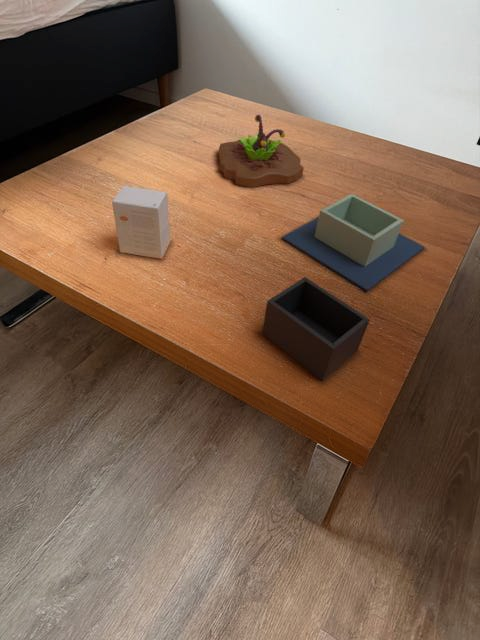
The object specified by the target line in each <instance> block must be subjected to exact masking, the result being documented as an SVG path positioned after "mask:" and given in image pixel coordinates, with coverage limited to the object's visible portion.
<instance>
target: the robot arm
mask: <svg viewBox="0 0 480 640" xmlns="http://www.w3.org/2000/svg"><path fill="white" fill-rule="evenodd" d="M476 146H480V136H479V137H478V139H477V141H476Z"/></svg>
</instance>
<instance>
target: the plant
mask: <svg viewBox="0 0 480 640" xmlns="http://www.w3.org/2000/svg"><path fill="white" fill-rule="evenodd" d="M254 121H255V122H256V123H258V133H256V135H255V137H254V136H253V135H251V134H248V136H247V137H248V138H245V137H240V136H239V137H238V140H235V141H227V142H221V143H220V144H219V147H218V157H219V172H220V173H222V174H223V177H224V178H225V179H226V180H227V179H228V180H231V181H234V183H235V185H239V186H241V187H244V188H245V187H246V188H255V187H260V186H265V185H277V184H278V185H279V184H282V185H283V184H286V185H288V184H290V183H292V182H295V181H297V180H298V179H299V178H301V177H303V174H304V168H305V167H304V166H302V165H301V161H302V159H301V157H300V156H298V154H296V153H295V152H294V151H293V150H292V149H291V148H290V147H289V146H288V145H287V144H285V143H283V142H282V140H281V139H283V138H285V136H286V132H285V131H284V130H283V129H279V128H277V129H273V130H271V131H270V132H269V133H268V134H266V133H264V125H263V120H262V115H261V114H256V115H255V117H254ZM275 133H278V136H279V137H280V138H281V139H278V140H272V139H270V137H271V136H272V135H274V134H275Z"/></svg>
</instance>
